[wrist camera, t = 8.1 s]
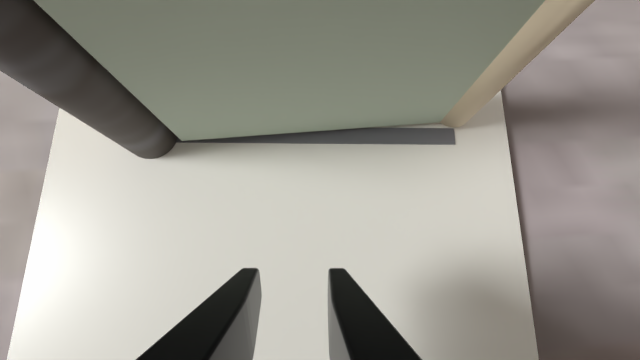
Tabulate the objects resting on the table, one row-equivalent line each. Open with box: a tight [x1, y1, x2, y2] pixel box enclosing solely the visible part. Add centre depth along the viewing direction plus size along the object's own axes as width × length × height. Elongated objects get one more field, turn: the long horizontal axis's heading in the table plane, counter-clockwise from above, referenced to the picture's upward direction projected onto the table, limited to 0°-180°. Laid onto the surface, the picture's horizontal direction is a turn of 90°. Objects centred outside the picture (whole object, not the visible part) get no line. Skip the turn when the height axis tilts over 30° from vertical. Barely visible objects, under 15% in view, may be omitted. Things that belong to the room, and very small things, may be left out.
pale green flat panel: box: [34, 0, 595, 141], centre depth 10 cm, size 2×13×11 cm, turn 95°
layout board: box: [7, 90, 539, 360], centre depth 17 cm, size 27×21×1 cm
